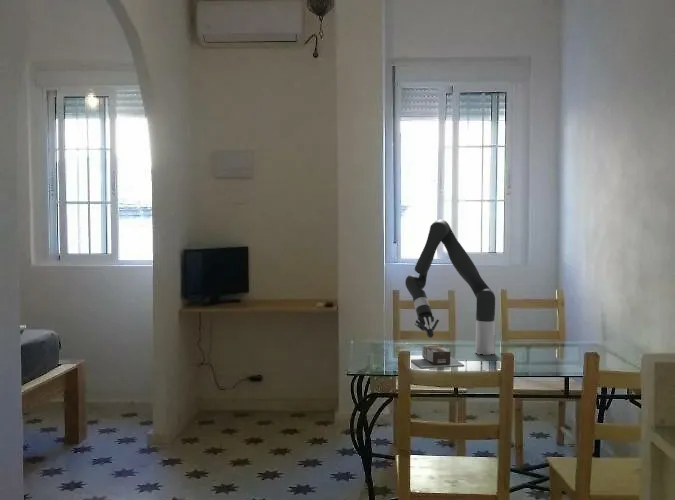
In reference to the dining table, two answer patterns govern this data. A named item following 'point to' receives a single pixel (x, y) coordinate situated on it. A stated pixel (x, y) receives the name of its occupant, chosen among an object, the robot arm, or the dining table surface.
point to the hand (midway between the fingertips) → (431, 336)
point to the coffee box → (436, 354)
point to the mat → (425, 364)
